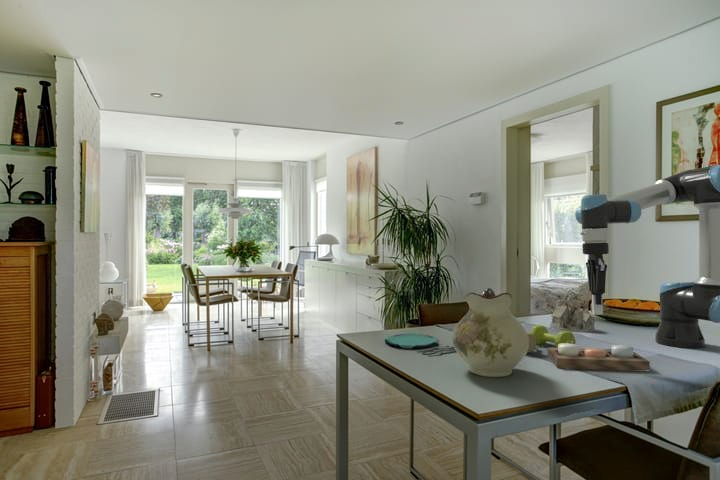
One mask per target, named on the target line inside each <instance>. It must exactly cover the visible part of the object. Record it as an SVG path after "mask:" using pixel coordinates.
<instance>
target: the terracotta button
mask: <svg viewBox="0 0 720 480" xmlns="http://www.w3.org/2000/svg"><path fill="white" fill-rule="evenodd" d="M584 349H585V356H589V357H606V351H605V350H603V349H604V348H597V347H586V348H584Z"/></svg>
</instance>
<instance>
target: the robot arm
mask: <svg viewBox="0 0 720 480" xmlns="http://www.w3.org/2000/svg"><path fill="white" fill-rule="evenodd" d="M687 202H693V206H694V207H695V208H696V209H698V214H699V215H698V219H699V221H698V222H699V223H698V230H699V231H698V233H699V234H698V237H699V238H698V239H699V240H698V242H699V244H698V246H699V247H698V248H699V249H698V253H699V254H698V263H699V265H698V267H699V269H698V273H699V274H698V278H697V279H696V280H695V281H688V282H687V281H686V282H667V283H665V282H664V283H662V284H661V285H660V288H659V311H660V312H659V313H660V314H659V315H660V322H659V325H658V327H657V330H656V333H655V340H654V341H655V342H656V343H657V344H660V345H661V344H662V345H666V346H670V347H675V348H676V347H678V348H689V349H690V348H691V349H692V348H693V349H698V348H703V347H705V346H706V342H705V341H706V340H705V337H704V335H703V332H702V329H701V327H700V325H699V320H703V321H707V322H708V321H709V322H712V323H714V324H720V164H714V165H710V166H709V165H708V166H705V167H699V168H695V169H688V170H684V171H681V172H678V173H676V174H673V175H671V176H667V177H664V178H663V179H659V180H657V181H655V182H654V183H653V184H651V185H649V186H646V187H645V186H644V187H641V188H638V189H635V190H632V191H629V192H625V193H622V194H619V195H616V196H612V197H609V198H608V197H607V194H602V193H599V194H598V193H596V194H588V195H587V194H585V195H584V196H582V197H581V201H580V205H579V206H578V207H577V208H576V210H575V213H574V214H575V215H574V216H575V220H576V222H577V223H579V224H580V225H581V232H580V236H581V238H582V242H583V243H582V244H581V245H582V254H583V255H588V259H587V262H585V266H586V272H587V273H586V275H587V281H588V283H587V284H588V290H589V292H590V294H591V309H592V310H591V312H592V314H591V315H595V316H596V315H600V316H602V315H604V308H603V304H604V303H603V295H604V294H605V293H606V281H607V280H606V278H607V277H606V276H607V269H608V264H605V260H604V255H608V254H609V251H610V250H609V243H608V241H609V225H610V224H611V225H612V224H630V223H636V222H637V221H638V220H639V219H640V218H641V217H642V210H645V209H649V208H652V207H655V206H659V205H663V206H667V205H668V206H669V205H671V204H675V203H687Z"/></svg>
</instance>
